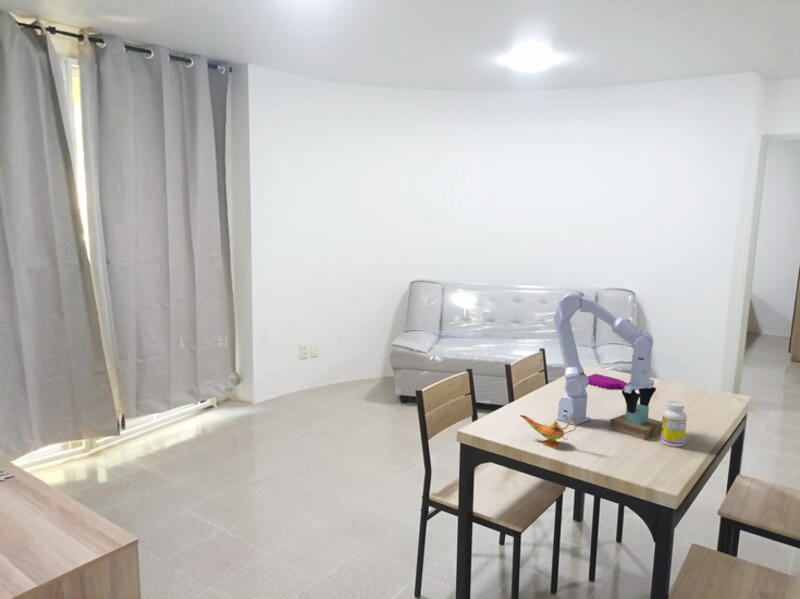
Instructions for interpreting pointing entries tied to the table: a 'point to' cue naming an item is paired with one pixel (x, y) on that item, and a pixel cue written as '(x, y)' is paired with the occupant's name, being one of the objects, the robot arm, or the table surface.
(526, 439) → the table surface
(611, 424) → the walnut base
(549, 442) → the magic lamp
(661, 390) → the table surface
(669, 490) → the table surface
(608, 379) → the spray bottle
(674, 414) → the supplement bottle
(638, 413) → the teal cube
